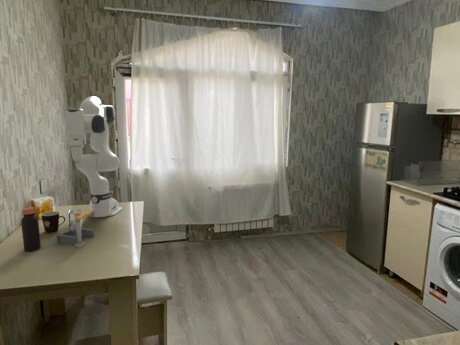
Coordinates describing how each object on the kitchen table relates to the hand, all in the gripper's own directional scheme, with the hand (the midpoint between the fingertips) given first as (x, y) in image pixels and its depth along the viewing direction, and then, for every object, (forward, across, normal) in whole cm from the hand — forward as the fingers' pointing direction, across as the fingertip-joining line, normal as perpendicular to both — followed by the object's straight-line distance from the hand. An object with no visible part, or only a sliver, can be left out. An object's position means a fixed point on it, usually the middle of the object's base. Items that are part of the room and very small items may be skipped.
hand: (78, 167), depth 164 cm
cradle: (+36, +10, -3) cm, 37 cm away
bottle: (+36, +14, -22) cm, 44 cm away
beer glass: (+36, +9, -3) cm, 37 cm away
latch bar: (+26, +11, +2) cm, 28 cm away
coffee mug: (+37, -9, -16) cm, 41 cm away
